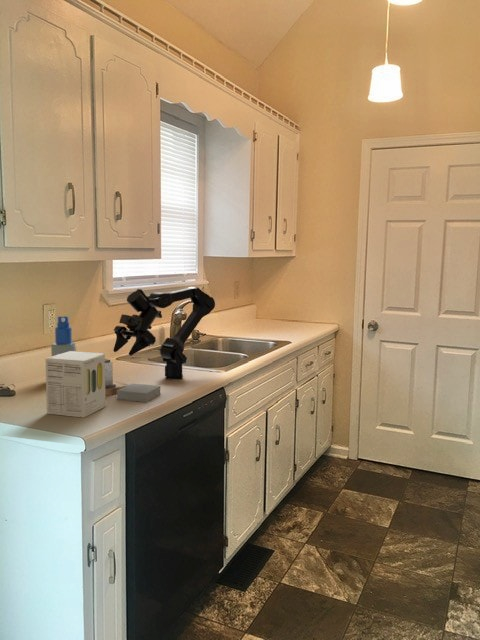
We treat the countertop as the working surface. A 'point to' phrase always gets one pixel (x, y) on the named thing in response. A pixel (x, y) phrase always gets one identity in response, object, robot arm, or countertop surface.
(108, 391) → the tan wooden board
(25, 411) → the countertop surface
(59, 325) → the spray bottle
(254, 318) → the countertop surface
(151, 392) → the block
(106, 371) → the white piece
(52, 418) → the countertop surface
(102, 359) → the supplement box
